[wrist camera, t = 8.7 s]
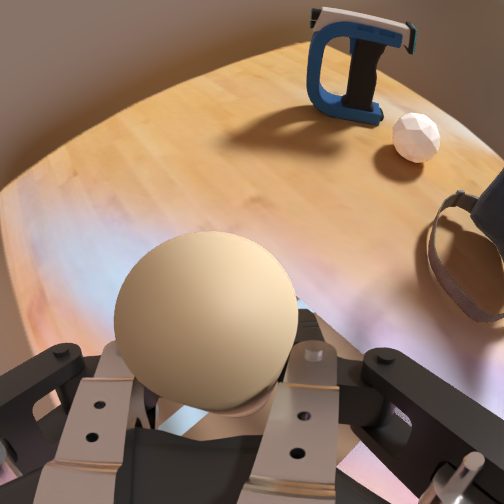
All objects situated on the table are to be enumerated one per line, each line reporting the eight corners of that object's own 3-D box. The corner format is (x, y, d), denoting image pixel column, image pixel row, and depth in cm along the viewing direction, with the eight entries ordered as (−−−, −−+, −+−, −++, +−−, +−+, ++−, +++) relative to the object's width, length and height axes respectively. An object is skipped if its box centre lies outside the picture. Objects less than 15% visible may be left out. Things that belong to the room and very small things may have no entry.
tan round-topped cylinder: (237, 338, 17) (211, 204, 7) (286, 384, 15) (337, 309, 6) (188, 382, 15) (84, 305, 6) (236, 432, 14) (195, 446, 5)
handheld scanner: (392, 130, 47) (421, 30, 31) (302, 114, 49) (311, 7, 33) (388, 115, 50) (413, 22, 33) (303, 101, 51) (311, 1, 35)
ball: (407, 176, 46) (416, 166, 38) (380, 135, 47) (384, 118, 39) (442, 154, 43) (455, 142, 36) (415, 114, 44) (424, 96, 37)
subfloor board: (270, 279, 34) (270, 273, 33) (396, 390, 28) (402, 388, 26) (115, 415, 27) (108, 414, 25) (239, 543, 20) (238, 548, 19)
